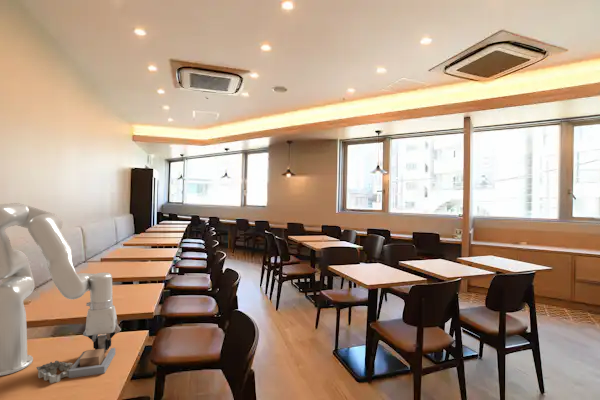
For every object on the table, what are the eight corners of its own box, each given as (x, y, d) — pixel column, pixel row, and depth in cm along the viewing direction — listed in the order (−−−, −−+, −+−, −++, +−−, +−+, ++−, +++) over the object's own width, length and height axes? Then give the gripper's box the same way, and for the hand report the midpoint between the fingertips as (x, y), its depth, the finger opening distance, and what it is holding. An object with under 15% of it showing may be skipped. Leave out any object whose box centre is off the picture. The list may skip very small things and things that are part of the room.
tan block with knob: (80, 372, 113) (79, 354, 113) (95, 350, 128) (95, 335, 128) (99, 370, 115) (98, 352, 114) (112, 348, 130) (111, 333, 129)
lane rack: (68, 378, 110) (68, 371, 109) (83, 357, 123) (83, 351, 122) (104, 373, 113) (104, 366, 112) (115, 353, 126) (115, 347, 125)
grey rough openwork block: (75, 374, 112) (75, 363, 112) (50, 386, 106) (50, 374, 105) (59, 366, 117) (59, 355, 117) (35, 377, 110) (34, 365, 110)
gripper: (74, 309, 120) (75, 356, 121) (121, 305, 125) (122, 351, 126) (81, 302, 128) (82, 347, 128) (126, 299, 132) (127, 342, 133)
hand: (102, 348), depth 127 cm, fingers closed on tan block with knob, 3 cm apart
